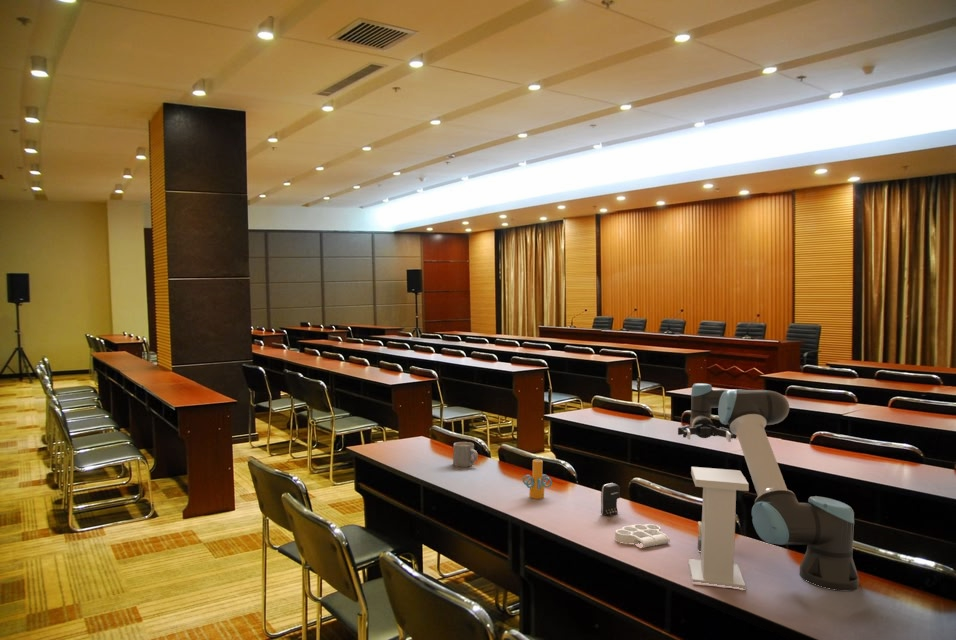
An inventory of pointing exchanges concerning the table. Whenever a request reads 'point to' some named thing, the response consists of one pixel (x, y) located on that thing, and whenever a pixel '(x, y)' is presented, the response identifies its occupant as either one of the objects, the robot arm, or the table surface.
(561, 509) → the table surface
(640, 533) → the white compartment tray
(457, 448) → the coffee mug
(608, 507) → the battery
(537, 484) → the post with side rings
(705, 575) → the stand
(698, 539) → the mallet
